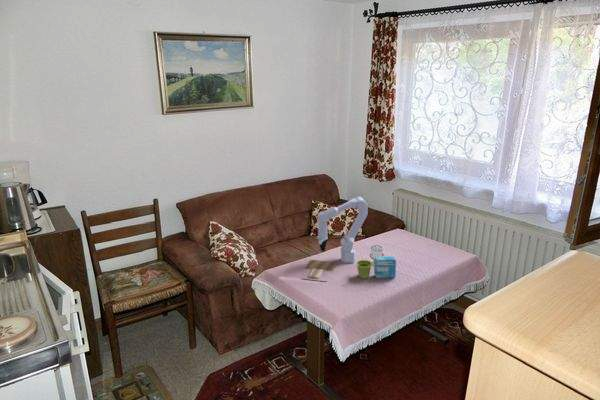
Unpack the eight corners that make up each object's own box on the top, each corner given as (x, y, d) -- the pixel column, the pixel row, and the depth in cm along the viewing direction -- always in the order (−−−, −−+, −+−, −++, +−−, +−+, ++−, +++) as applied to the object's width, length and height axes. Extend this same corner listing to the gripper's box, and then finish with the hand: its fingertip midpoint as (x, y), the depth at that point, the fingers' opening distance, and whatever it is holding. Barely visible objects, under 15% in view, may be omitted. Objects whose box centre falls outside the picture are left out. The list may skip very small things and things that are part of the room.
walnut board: (337, 264, 266) (337, 262, 266) (332, 273, 254) (332, 271, 254) (310, 261, 271) (310, 259, 271) (304, 270, 260) (304, 268, 259)
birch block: (322, 272, 255) (322, 269, 254) (318, 280, 246) (318, 276, 245) (313, 271, 256) (313, 268, 256) (309, 278, 247) (309, 275, 247)
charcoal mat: (331, 273, 255) (331, 272, 254) (326, 282, 244) (326, 281, 243) (306, 270, 259) (306, 269, 259) (300, 279, 248) (300, 278, 248)
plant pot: (370, 281, 243) (370, 267, 241) (354, 279, 247) (354, 265, 244) (373, 274, 252) (373, 261, 249) (357, 272, 255) (358, 259, 252)
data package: (375, 278, 246) (375, 260, 243) (374, 274, 251) (374, 256, 247) (395, 277, 246) (396, 259, 243) (393, 274, 250) (394, 256, 247)
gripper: (319, 226, 269) (319, 245, 272) (313, 234, 255) (314, 254, 259) (330, 227, 266) (330, 246, 270) (324, 235, 253) (324, 255, 257)
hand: (323, 250), depth 265 cm, fingers closed
